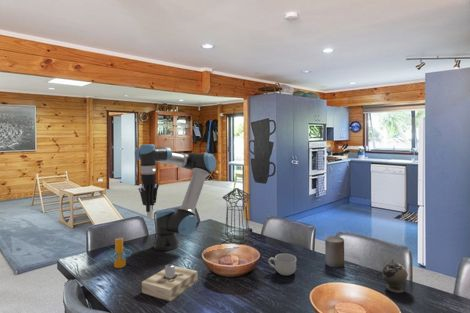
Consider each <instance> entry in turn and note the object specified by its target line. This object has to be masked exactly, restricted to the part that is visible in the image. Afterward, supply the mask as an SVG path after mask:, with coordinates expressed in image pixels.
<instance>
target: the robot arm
mask: <svg viewBox="0 0 470 313" xmlns="http://www.w3.org/2000/svg"><path fill="white" fill-rule="evenodd" d="M155 146H156V145H155V143H154V144H153V143H151V144H150V143H149V144H145V143H143V144H141V145H140V147H137V148H136V149H135V150H134V157H135V159H137V160H139V161H140V179H141V182H142V183H141V186H140V187H139V188H138V192H139V193H140V199H141V202H142V205H143V206H145V211H146V218H149V219H152V218H153V217H154V216H153V214H154V213H153V212H154V206H155V205H156V203H157V195H158V189H159V186H160V185H159V184H156V180H157V174H156V171H157V170H156V163H162V164H168V165H174V166H177V167H179V168H182V169H186V170H190V171H192V172H193V173H192V176H191V178H190V182H189V183H188V186H187V189H186V192H185V195H184V198H183V201H182V202H181V203H182V204H181V206H180V207H178V208H177V210H176V211H175V209H174V208H173V209H172V208H171V209H170V208H169V209H168V208H167V209H162V210H159V211H157V212H156V214H155V226H156V228H155V229H156V236H155V240H154V244H153V248H154V250H156V251H163V252H164V251H165V252H166V251H172V250H175V249H177V248H178V247H179V245H180V243H179V240H178V237H177V235H176V234H180V235H190V234H191V233H193V232H194V231H195V230H196V228H197V224H198V222H197V220H198V219H197V217H196V214H197V213H196V212H195V211H196V208H197V204H198V203H199V202H198V201H199V199H200V196H201V193H202V190H203V187H204V184H205V181H206V179H207V177H209V176H210V174H211V173H212V172H214V171H215V169H216V167H217V161H216V160H217V159H216V157H215V156H214V155H213V154H212V153H207V152H205V153H203V152H189V153H187V152H186V153H185V152H180V153H177V152H172V149H171V148H170V147H167V146H163V147H161V146H160V147H159V146H156V147H155Z"/></svg>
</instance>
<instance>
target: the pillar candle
mask: <svg viewBox="0 0 470 313" xmlns="http://www.w3.org/2000/svg"><path fill="white" fill-rule="evenodd" d="M324 240H325V241H324V242H325V243H324V246H325V250H324V252H325V265H327V266H328V267H330V268H335V269H336V268H342V267H344V266H345V239H344V238H343V237H341V236H337V235H336V236H334V235H333V236H332V235H330V236H326V237H325V238H324Z"/></svg>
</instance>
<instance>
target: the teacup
mask: <svg viewBox="0 0 470 313" xmlns="http://www.w3.org/2000/svg"><path fill="white" fill-rule="evenodd" d="M271 261H273V263H274V264H272V262H271ZM267 262H268V264H269V266H270V267H272V268H274V269H275V270H276V272H277V273H279V275H281V276H291V275H293V274H294V273H295V272H296V270H297V257H296V256H295V255H293V254H290V253H278V254H276V255H275V257H272V256H271V257H269V258H268V260H267Z"/></svg>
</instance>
